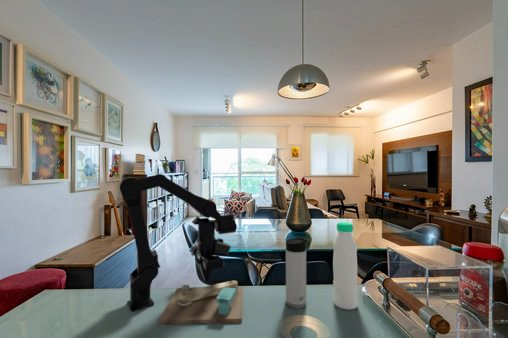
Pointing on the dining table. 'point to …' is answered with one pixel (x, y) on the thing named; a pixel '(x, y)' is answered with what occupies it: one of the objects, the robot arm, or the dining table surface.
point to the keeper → (222, 300)
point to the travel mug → (296, 272)
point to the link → (203, 291)
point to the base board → (201, 310)
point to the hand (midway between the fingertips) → (206, 280)
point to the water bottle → (345, 268)
